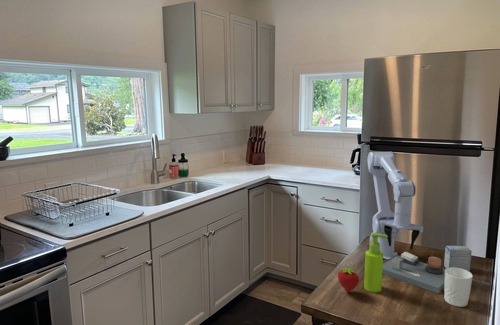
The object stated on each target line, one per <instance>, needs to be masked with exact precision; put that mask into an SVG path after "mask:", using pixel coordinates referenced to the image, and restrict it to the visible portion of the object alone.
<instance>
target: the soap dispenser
mask: <svg viewBox="0 0 500 325" xmlns="http://www.w3.org/2000/svg"><path fill="white" fill-rule="evenodd" d="M370 236H371V237H373V239H372V242H370V241H369V245H370V248H369V249H368V250H365V255H364V257H365V258H364V259H365V260H364V276H363V278H364V279H363V280H364V282H363V288H364V290H366V291H367V292H370V293H380V292H381V291H382V288H383V287H382V286H383V274H382V271H383V264H384V258H383V253H382V252H381V251H380V243H378V237H384V238H387V237H388V236H387V235H385V234H381V233H373V232H371V233H370Z"/></svg>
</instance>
